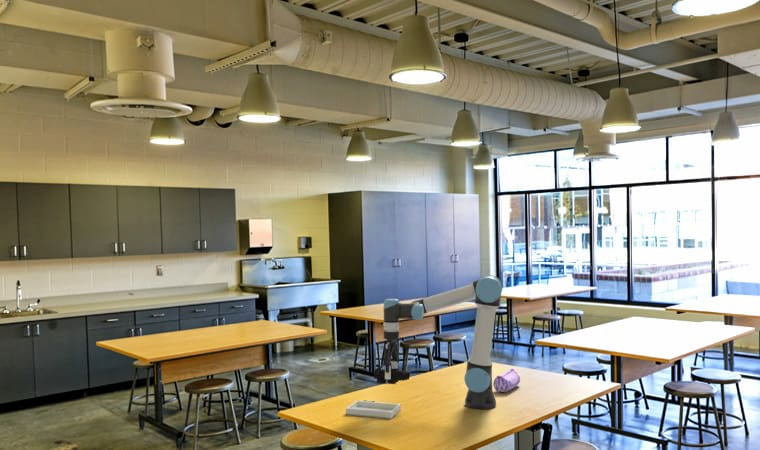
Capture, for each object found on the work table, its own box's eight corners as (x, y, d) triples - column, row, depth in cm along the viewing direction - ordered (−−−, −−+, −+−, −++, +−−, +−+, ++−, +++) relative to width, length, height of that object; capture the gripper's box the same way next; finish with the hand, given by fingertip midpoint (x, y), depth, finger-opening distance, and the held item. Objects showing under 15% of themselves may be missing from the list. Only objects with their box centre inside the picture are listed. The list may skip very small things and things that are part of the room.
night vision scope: (409, 389, 290) (405, 379, 283) (374, 387, 295) (369, 377, 288) (411, 374, 295) (407, 364, 288) (377, 372, 300) (372, 362, 293)
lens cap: (376, 404, 300) (376, 400, 300) (372, 407, 294) (372, 403, 294) (365, 403, 302) (365, 399, 302) (361, 406, 296) (361, 402, 296)
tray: (400, 410, 287) (400, 404, 287) (391, 419, 273) (391, 412, 273) (357, 406, 294) (357, 400, 294) (345, 414, 281) (345, 408, 281)
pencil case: (505, 384, 338) (505, 367, 338) (521, 386, 333) (521, 369, 334) (492, 393, 319) (492, 375, 319) (509, 395, 314) (509, 377, 315)
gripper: (391, 327, 304) (391, 371, 304) (376, 333, 284) (376, 381, 283) (405, 328, 302) (405, 372, 301) (391, 334, 281) (391, 382, 281)
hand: (391, 376), depth 292 cm, fingers closed on night vision scope, 9 cm apart
